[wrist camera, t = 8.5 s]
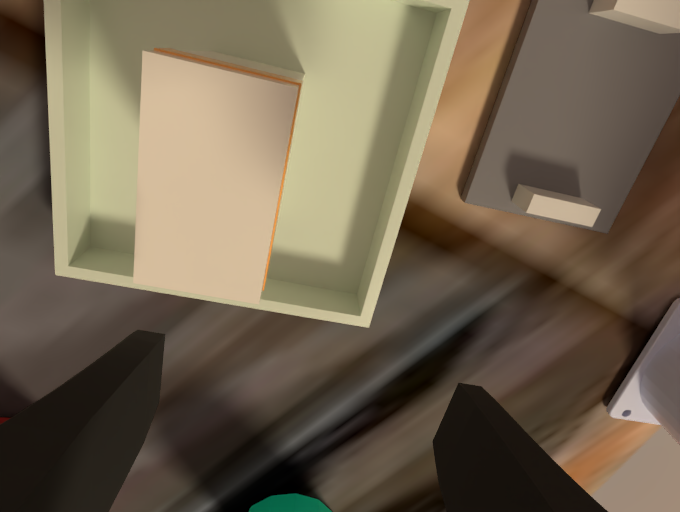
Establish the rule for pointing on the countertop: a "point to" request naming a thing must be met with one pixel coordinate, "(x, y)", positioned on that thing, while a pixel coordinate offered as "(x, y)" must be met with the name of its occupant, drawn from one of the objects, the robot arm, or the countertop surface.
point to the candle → (289, 504)
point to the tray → (308, 142)
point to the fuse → (211, 170)
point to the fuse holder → (579, 110)
